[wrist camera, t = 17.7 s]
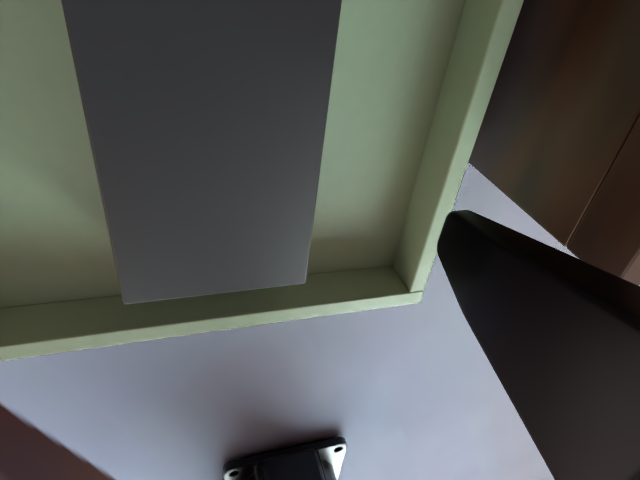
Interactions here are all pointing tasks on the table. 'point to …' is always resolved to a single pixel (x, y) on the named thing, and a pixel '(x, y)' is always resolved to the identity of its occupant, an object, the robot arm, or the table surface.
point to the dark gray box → (205, 136)
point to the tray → (333, 188)
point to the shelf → (571, 127)
